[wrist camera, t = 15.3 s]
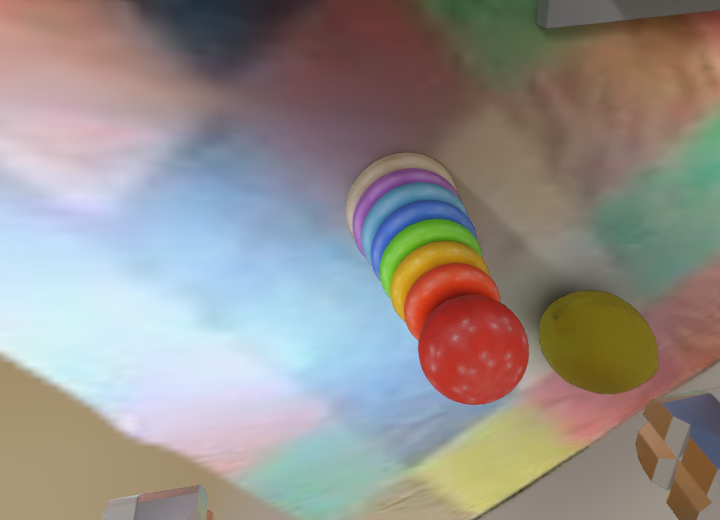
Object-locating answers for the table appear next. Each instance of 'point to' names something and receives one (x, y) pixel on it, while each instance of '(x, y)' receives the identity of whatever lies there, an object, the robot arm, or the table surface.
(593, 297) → the lemon
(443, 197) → the stacking toy
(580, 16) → the rod stand
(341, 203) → the table surface
